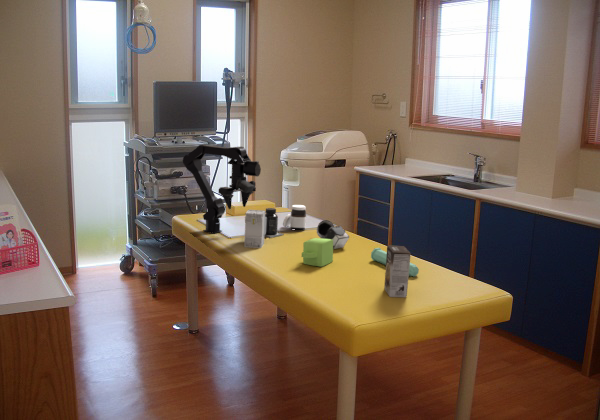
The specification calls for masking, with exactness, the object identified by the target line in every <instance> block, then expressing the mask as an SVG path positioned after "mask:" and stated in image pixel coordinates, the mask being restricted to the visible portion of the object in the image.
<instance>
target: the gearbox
mask: <svg viewBox="0 0 600 420" xmlns="http://www.w3.org/2000/svg"><path fill="white" fill-rule="evenodd" d="M333 256H334V249H333V240H331V239H322V238H320V237H314V238H310V239H307V240H306V241H304V242H303V250H302V252H301V258H303V259H302V260H303V261H302V263H303V264H304V265H309V266H314V267H325V266H327V265H329V264H330V263H332V262H333V261H334V257H333Z"/></svg>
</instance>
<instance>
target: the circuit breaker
mask: <svg viewBox="0 0 600 420" xmlns="http://www.w3.org/2000/svg"><path fill="white" fill-rule="evenodd" d="M265 212H266V210H261V209H248V210H247V211H246V212H245V217H244V223H245V224H244V238H243V239H244V241H243V243H244V246H243V247H244V248H252V249H253V248H255V249H262V247H263V246H264V245H265V236H264V235H265V234H266V219H267V217H265V214H266V213H265Z"/></svg>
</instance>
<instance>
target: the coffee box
mask: <svg viewBox="0 0 600 420" xmlns="http://www.w3.org/2000/svg"><path fill="white" fill-rule="evenodd" d="M386 252H387V257H386V265H385V273H384V286H383V287H384V290H385V292H386V293H387V295H388V297H390V298H407V297H406V296H408V287H409V277H410V276H409V267H410V263H411V252H410V251H409V250H408V249H407V247H405V245H390V244H388V245H386Z"/></svg>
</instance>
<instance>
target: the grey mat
mask: <svg viewBox="0 0 600 420" xmlns="http://www.w3.org/2000/svg"><path fill="white" fill-rule="evenodd" d="M281 236H284V233H281V232H277V234H276V235H264V238H265V237H266V238H269V239H272V238H277V237H281Z"/></svg>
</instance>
